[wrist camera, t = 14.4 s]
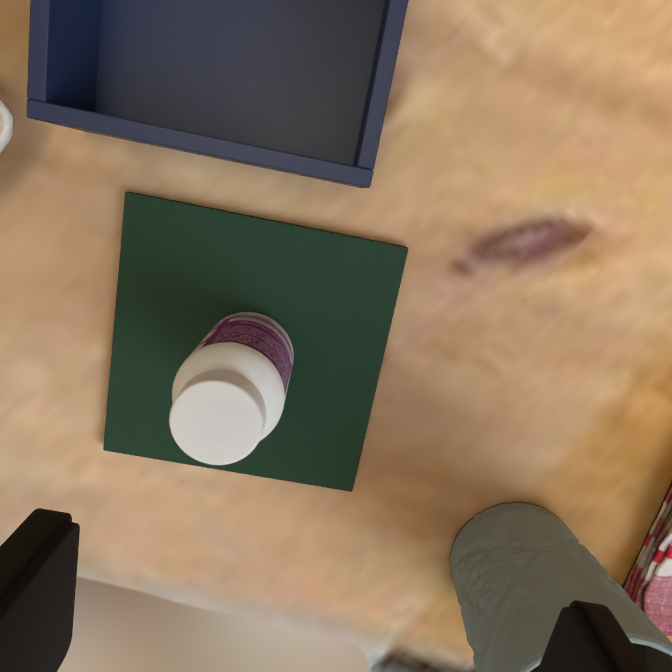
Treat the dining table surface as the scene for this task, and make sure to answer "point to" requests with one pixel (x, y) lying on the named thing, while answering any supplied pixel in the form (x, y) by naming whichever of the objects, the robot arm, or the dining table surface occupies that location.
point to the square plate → (5, 126)
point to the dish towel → (655, 572)
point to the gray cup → (535, 589)
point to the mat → (259, 297)
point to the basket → (223, 77)
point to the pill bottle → (231, 389)
